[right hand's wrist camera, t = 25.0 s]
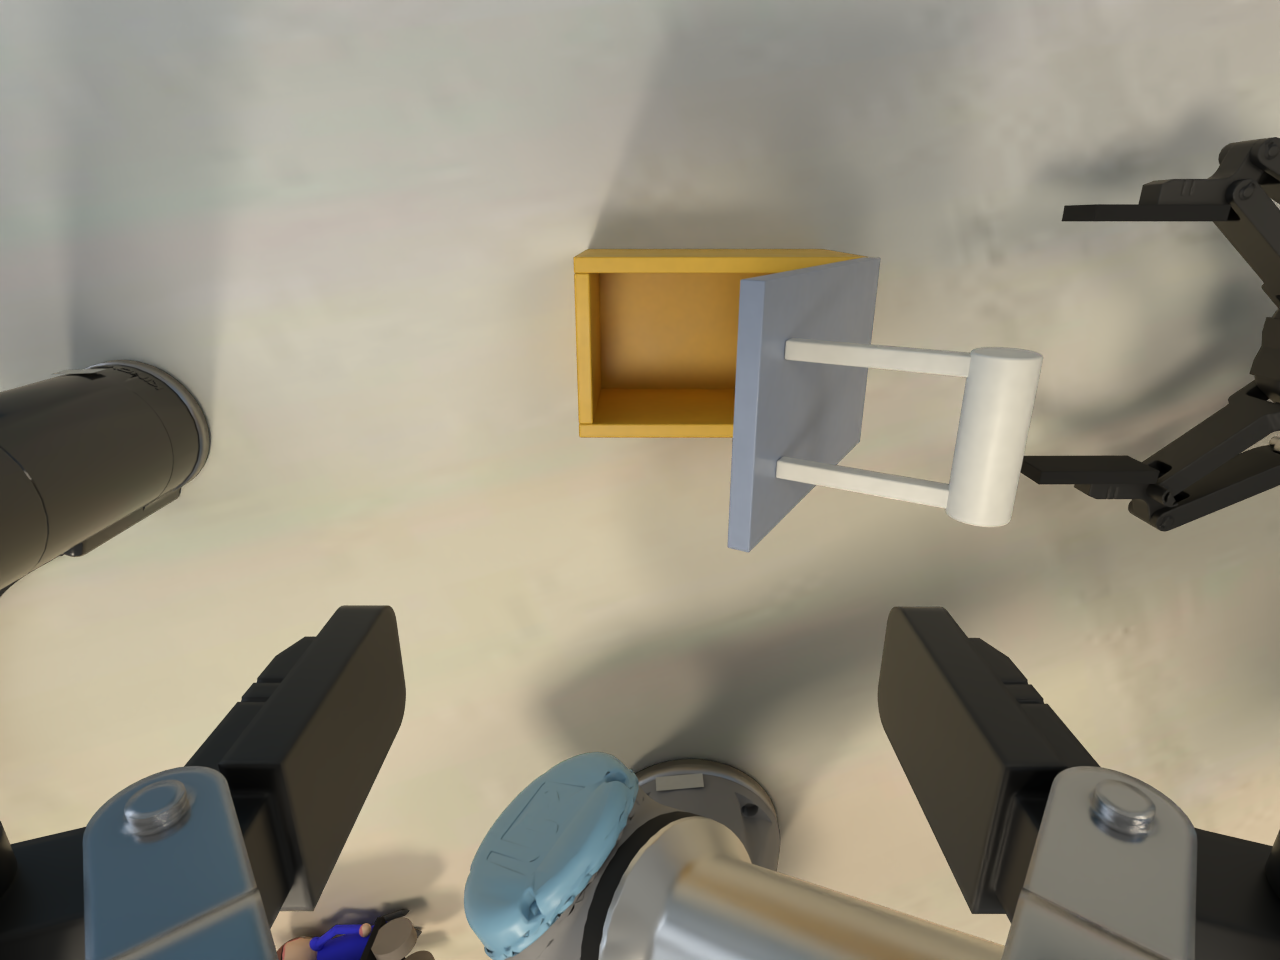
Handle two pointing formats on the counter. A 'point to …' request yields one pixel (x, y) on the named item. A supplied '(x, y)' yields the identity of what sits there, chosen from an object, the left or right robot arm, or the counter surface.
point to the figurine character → (360, 942)
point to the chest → (665, 336)
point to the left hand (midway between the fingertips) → (1050, 349)
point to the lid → (857, 403)
